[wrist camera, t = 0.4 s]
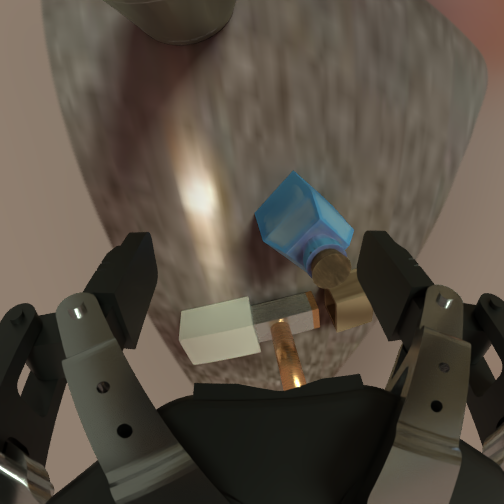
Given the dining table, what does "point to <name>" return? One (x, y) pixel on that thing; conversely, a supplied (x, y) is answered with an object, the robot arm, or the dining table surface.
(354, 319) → the socket block
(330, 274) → the perfume bottle
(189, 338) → the pale white block
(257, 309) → the grey bar with post
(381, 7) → the dining table surface
